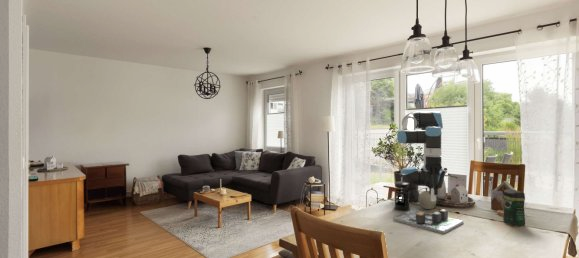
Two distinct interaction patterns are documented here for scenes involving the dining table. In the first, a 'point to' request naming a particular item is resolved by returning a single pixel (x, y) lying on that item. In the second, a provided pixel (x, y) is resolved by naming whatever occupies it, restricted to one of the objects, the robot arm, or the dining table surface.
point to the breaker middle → (436, 217)
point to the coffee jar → (514, 207)
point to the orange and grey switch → (420, 217)
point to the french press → (404, 201)
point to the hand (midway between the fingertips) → (433, 200)
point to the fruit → (426, 200)
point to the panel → (429, 222)
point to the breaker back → (444, 214)
